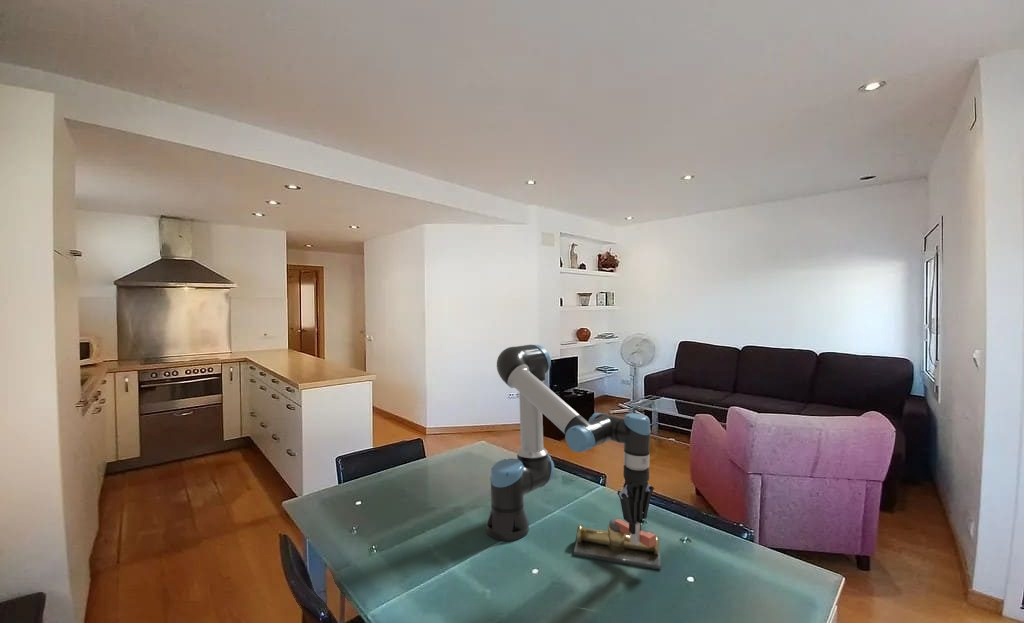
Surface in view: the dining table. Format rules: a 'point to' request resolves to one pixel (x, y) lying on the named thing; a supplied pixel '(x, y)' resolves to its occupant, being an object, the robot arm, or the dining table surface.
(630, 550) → the valve base
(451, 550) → the dining table surface
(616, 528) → the lever
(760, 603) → the dining table surface
